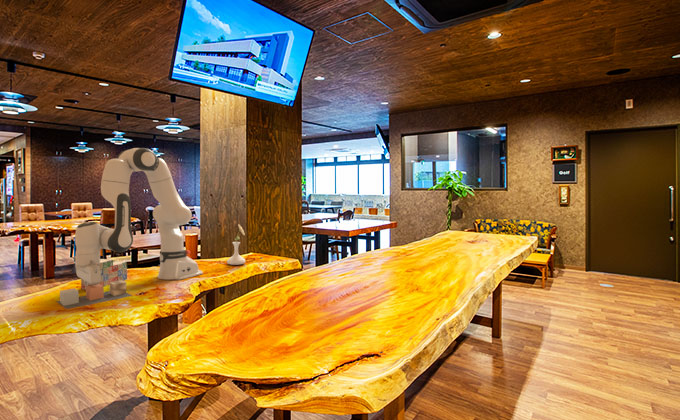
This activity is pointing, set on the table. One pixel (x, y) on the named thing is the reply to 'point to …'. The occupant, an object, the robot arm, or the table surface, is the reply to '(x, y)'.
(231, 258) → the flower in vase
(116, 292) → the birch block
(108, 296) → the charcoal mat
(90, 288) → the terracotta block
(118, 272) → the stack of blocks
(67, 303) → the light gray cube
